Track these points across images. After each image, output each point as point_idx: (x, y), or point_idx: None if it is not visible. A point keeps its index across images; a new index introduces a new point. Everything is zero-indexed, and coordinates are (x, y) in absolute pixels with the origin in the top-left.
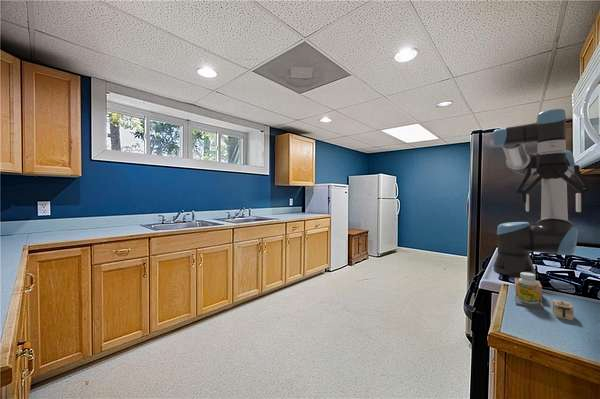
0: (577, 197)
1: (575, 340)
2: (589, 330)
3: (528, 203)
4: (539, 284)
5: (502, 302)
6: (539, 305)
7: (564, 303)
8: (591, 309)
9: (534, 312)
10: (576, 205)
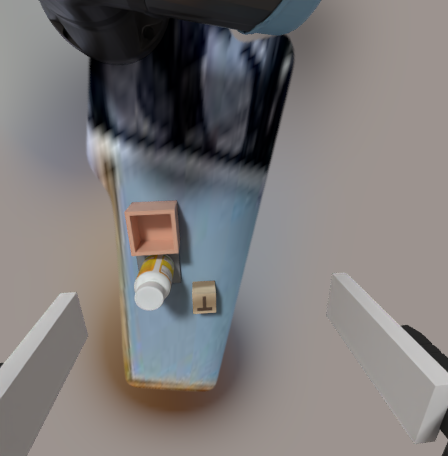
0: (388, 394)
1: (207, 355)
2: (226, 320)
3: (56, 390)
4: (174, 238)
5: (120, 284)
6: (175, 276)
7: (207, 302)
8: (248, 238)
9: (168, 299)
10: (352, 314)
